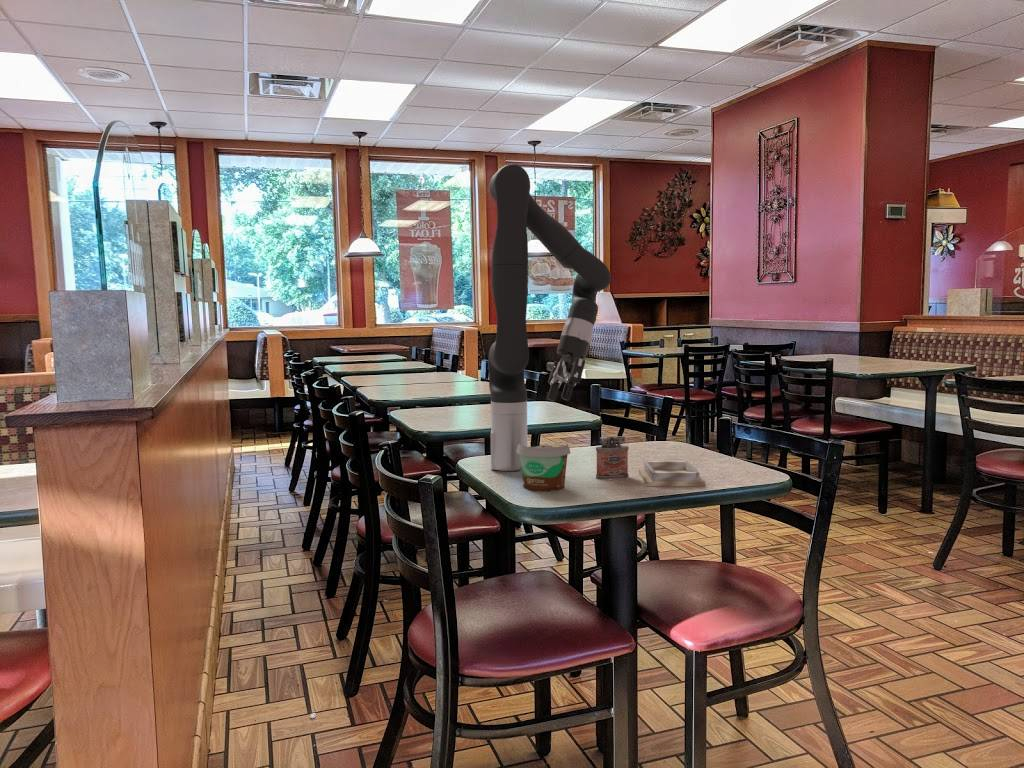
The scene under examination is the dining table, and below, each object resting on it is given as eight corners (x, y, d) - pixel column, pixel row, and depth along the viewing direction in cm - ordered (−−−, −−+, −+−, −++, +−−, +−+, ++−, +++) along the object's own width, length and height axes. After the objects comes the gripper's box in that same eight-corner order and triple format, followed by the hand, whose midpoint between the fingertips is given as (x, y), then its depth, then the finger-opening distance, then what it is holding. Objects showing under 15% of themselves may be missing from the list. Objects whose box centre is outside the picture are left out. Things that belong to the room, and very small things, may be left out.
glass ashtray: (647, 486, 171) (647, 473, 171) (638, 473, 185) (638, 461, 185) (704, 486, 171) (705, 473, 170) (692, 473, 185) (692, 460, 184)
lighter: (598, 480, 178) (598, 438, 177) (593, 477, 181) (593, 436, 180) (630, 478, 180) (630, 436, 179) (625, 475, 183) (625, 434, 182)
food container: (511, 491, 167) (510, 446, 167) (517, 485, 173) (517, 442, 173) (566, 494, 165) (565, 448, 164) (570, 487, 170) (570, 443, 170)
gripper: (551, 337, 196) (533, 396, 194) (574, 330, 183) (556, 394, 180) (576, 346, 199) (559, 405, 196) (601, 341, 185) (583, 404, 183)
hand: (558, 400), depth 188 cm, fingers open, 8 cm apart
